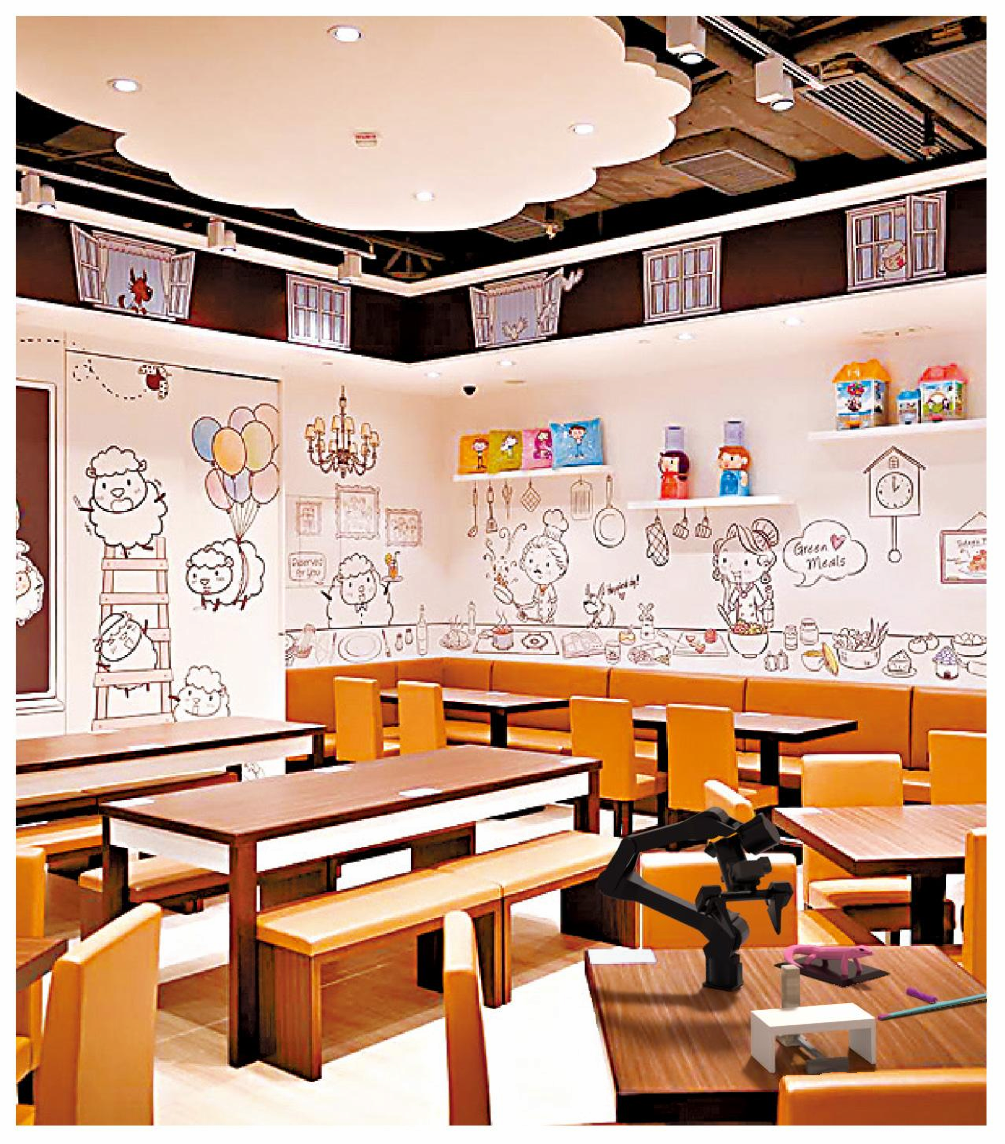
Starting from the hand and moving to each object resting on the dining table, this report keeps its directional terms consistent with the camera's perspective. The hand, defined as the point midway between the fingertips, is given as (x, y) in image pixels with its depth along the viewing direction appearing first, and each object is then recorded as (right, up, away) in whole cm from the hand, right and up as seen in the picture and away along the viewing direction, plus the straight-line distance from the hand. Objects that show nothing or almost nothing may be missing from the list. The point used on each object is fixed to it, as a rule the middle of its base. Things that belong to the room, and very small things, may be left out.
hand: (756, 935), depth 232 cm
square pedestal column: (+3, -13, -25) cm, 28 cm away
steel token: (+6, -13, -35) cm, 38 cm away
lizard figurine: (+21, -15, +22) cm, 34 cm away
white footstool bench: (+4, -13, -27) cm, 30 cm away
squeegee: (+32, -14, +2) cm, 35 cm away
